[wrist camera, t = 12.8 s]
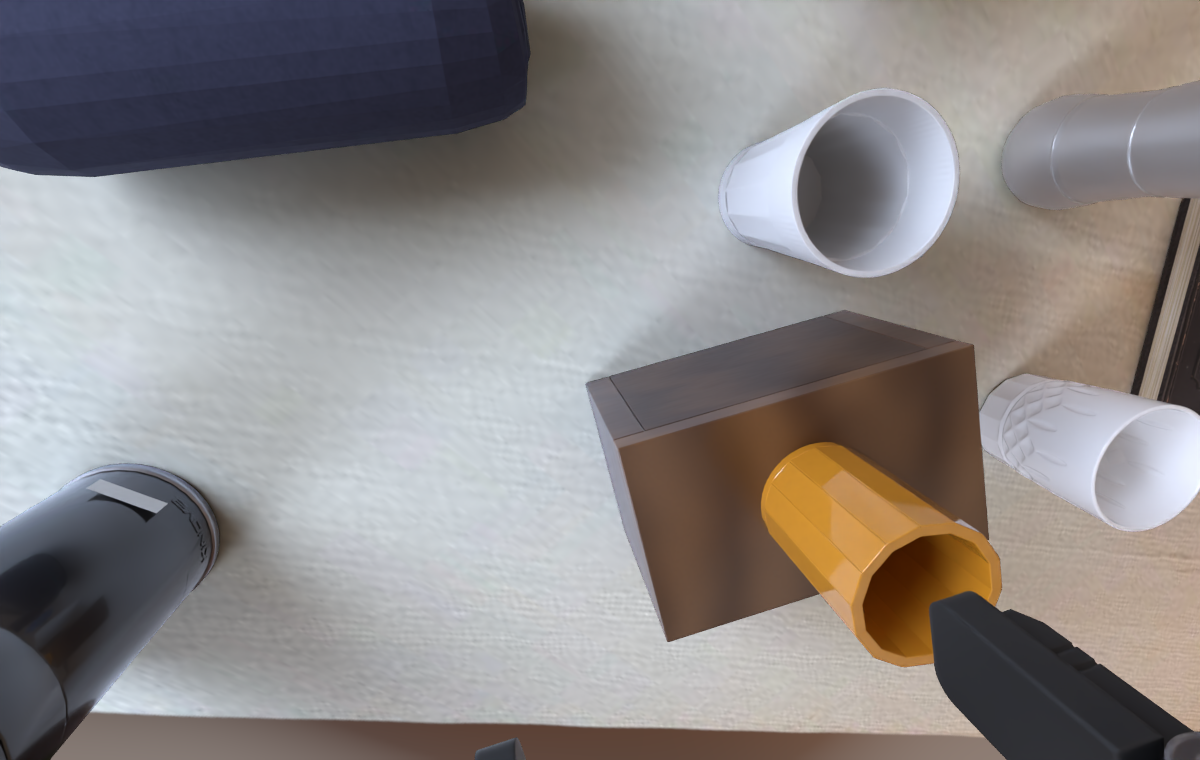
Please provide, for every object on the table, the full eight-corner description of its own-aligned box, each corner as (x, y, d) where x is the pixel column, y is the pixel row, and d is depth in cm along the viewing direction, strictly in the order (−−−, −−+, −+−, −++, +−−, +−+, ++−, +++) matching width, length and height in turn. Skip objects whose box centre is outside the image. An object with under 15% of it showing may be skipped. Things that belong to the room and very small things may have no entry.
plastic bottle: (1072, 90, 40) (1590, -25, 21) (1077, 196, 42) (1556, 179, 23) (981, 116, 40) (1426, 22, 21) (990, 222, 42) (1405, 226, 22)
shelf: (624, 530, 43) (667, 643, 32) (585, 382, 40) (617, 449, 29) (864, 457, 45) (989, 540, 33) (844, 309, 42) (974, 344, 30)
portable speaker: (506, -62, 33) (507, -174, 24) (535, 136, 36) (546, 106, 27) (-3, -18, 31) (-232, -124, 21) (69, 192, 33) (-106, 182, 24)
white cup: (1031, 480, 47) (1164, 547, 38) (949, 448, 46) (1068, 510, 36) (1085, 386, 46) (1238, 431, 36) (1003, 349, 44) (1140, 385, 35)
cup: (845, 221, 40) (982, 223, 29) (737, 283, 40) (831, 309, 29) (798, 102, 38) (926, 52, 26) (684, 167, 38) (762, 145, 26)
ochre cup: (771, 566, 32) (863, 687, 23) (750, 460, 30) (842, 550, 22) (879, 532, 32) (1006, 640, 24) (864, 426, 30) (996, 502, 22)
